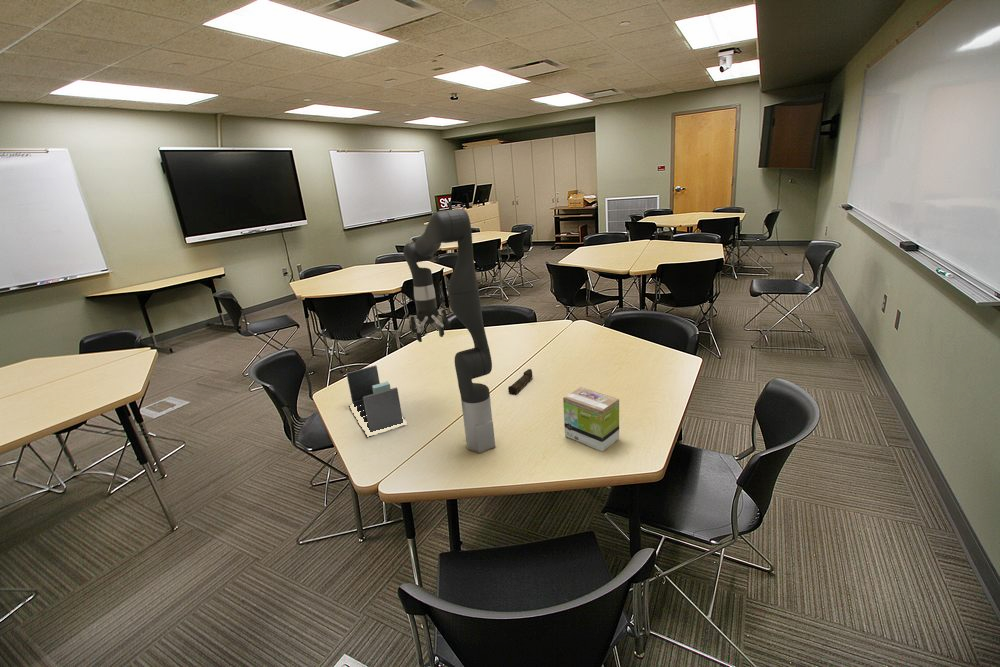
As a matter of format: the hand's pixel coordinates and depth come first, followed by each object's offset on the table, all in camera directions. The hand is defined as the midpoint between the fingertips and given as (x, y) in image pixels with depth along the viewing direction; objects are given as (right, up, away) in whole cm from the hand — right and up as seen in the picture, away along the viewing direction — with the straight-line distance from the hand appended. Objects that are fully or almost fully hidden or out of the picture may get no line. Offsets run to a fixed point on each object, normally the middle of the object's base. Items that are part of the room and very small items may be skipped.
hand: (430, 339), depth 172 cm
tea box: (+56, -32, -23) cm, 68 cm away
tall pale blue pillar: (-18, -29, +5) cm, 34 cm away
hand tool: (+35, -20, +21) cm, 46 cm away
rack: (-22, -30, +6) cm, 37 cm away
